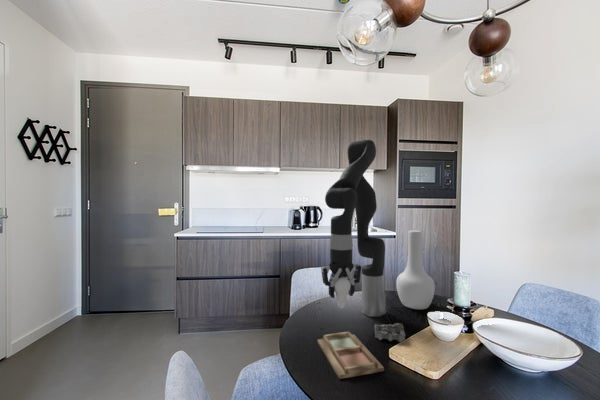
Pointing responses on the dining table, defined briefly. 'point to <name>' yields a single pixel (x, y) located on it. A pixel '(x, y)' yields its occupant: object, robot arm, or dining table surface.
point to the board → (348, 355)
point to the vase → (415, 277)
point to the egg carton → (383, 330)
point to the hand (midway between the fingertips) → (341, 296)
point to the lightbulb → (342, 290)
